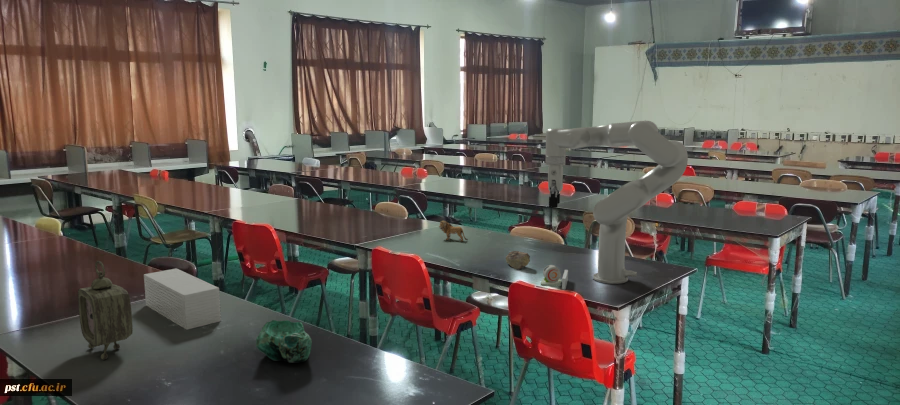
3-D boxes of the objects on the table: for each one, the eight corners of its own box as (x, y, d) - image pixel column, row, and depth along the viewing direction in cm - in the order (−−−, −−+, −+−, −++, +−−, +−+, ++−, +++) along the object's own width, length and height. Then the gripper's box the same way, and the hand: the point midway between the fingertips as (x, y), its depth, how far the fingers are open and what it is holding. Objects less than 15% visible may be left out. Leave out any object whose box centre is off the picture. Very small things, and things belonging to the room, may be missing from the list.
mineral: (333, 359, 168) (332, 322, 166) (281, 378, 156) (279, 339, 155) (291, 342, 180) (290, 307, 178) (240, 358, 168) (238, 322, 167)
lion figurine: (437, 239, 310) (437, 221, 308) (441, 237, 315) (441, 219, 313) (466, 242, 304) (466, 223, 303) (470, 240, 309) (470, 221, 308)
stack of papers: (146, 306, 212) (143, 274, 211) (178, 299, 220) (176, 268, 218) (186, 330, 190) (184, 295, 188) (221, 321, 197) (219, 287, 195)
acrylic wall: (567, 280, 240) (568, 270, 239) (565, 289, 228) (565, 278, 228) (564, 280, 240) (564, 269, 240) (561, 289, 229) (562, 278, 228)
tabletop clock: (82, 348, 175) (73, 259, 171) (118, 339, 182) (110, 253, 178) (99, 363, 165) (90, 269, 161) (136, 354, 172) (128, 262, 167)
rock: (529, 257, 251) (533, 247, 260) (500, 255, 255) (506, 246, 264) (529, 273, 253) (534, 264, 262) (501, 271, 257) (506, 262, 266)
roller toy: (541, 279, 238) (541, 264, 237) (558, 278, 239) (558, 263, 238) (545, 283, 234) (545, 267, 233) (562, 282, 235) (562, 266, 234)
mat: (561, 281, 239) (561, 279, 239) (560, 286, 232) (560, 284, 232) (542, 279, 241) (542, 278, 241) (540, 285, 234) (540, 283, 234)
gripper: (563, 163, 236) (562, 209, 239) (567, 159, 253) (565, 202, 255) (543, 163, 238) (542, 208, 241) (547, 158, 254) (546, 201, 257)
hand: (554, 205), depth 248 cm, fingers open, 9 cm apart
